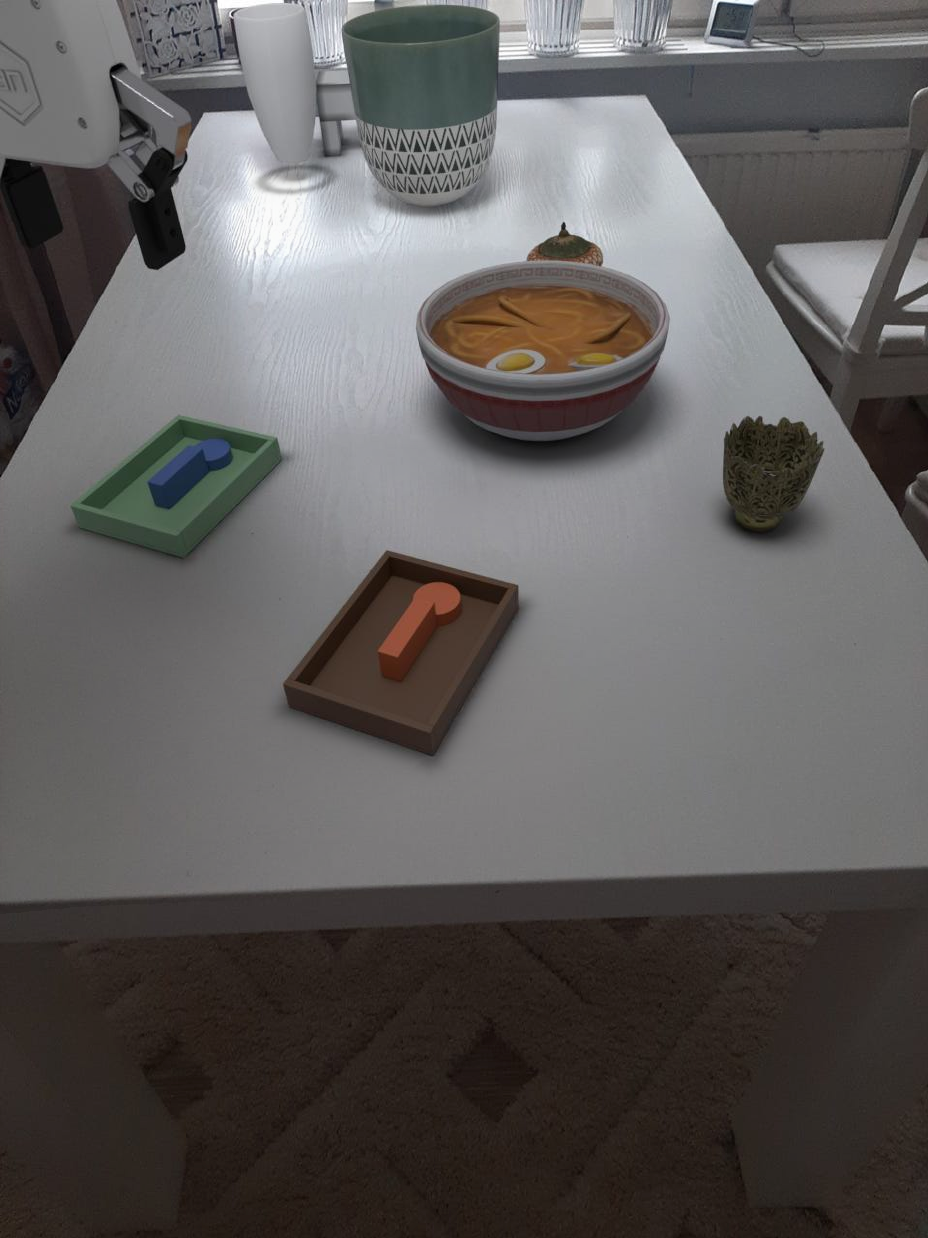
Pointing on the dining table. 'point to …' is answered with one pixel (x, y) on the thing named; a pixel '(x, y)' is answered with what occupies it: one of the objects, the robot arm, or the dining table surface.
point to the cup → (279, 75)
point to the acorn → (567, 249)
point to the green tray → (135, 518)
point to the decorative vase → (768, 469)
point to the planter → (425, 97)
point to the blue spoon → (188, 470)
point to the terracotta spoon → (418, 627)
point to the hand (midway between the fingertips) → (104, 249)
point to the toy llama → (337, 101)
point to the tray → (439, 677)
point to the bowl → (542, 345)
